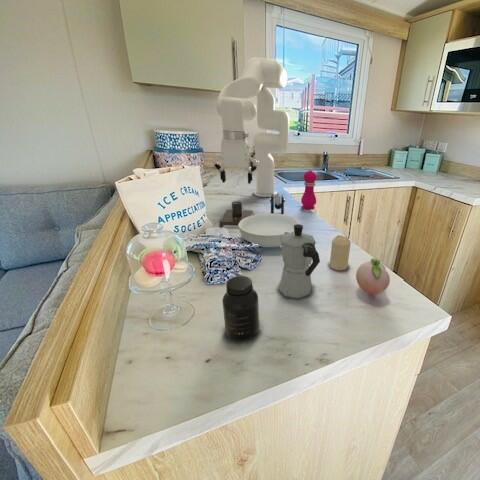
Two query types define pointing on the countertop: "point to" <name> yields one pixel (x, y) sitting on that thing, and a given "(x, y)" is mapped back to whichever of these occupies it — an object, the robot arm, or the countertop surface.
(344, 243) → the candle
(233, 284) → the supplement bottle
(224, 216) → the brown rectangular slab
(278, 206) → the tap lever
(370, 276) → the decorative fruit
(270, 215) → the serving bowl
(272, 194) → the tap bracket
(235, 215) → the tap knob
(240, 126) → the robot arm
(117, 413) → the countertop surface
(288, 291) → the coffee maker
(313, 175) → the pepper mill
